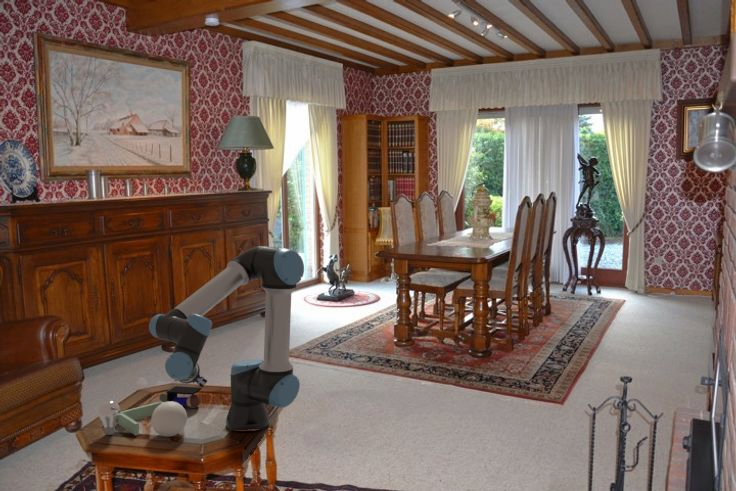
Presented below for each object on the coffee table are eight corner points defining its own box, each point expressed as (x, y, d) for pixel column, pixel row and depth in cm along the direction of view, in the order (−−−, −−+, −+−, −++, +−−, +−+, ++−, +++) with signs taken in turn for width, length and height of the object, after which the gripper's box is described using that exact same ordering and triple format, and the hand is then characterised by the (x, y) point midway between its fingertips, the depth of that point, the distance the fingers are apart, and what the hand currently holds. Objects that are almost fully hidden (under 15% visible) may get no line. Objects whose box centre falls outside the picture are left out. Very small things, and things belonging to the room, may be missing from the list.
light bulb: (112, 440, 207) (111, 405, 205) (94, 438, 208) (93, 403, 207) (124, 432, 213) (124, 398, 212) (106, 430, 215) (105, 396, 213)
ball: (194, 432, 214) (193, 399, 213) (170, 445, 204) (170, 411, 203) (168, 426, 219) (167, 394, 218) (143, 438, 209) (143, 405, 207)
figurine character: (159, 411, 237) (195, 410, 233) (157, 391, 236) (193, 391, 233) (169, 404, 244) (204, 404, 240) (167, 385, 243) (202, 385, 239)
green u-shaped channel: (181, 422, 223) (180, 411, 222) (135, 435, 211) (135, 424, 210) (161, 411, 233) (161, 401, 232) (117, 423, 220) (117, 412, 220)
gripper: (160, 367, 189) (173, 374, 211) (194, 393, 188) (203, 397, 210) (177, 347, 191) (188, 356, 213) (210, 373, 190) (218, 379, 212)
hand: (196, 376), depth 212 cm, fingers closed
